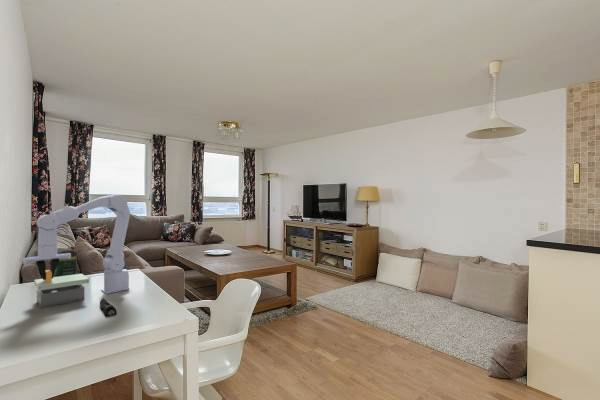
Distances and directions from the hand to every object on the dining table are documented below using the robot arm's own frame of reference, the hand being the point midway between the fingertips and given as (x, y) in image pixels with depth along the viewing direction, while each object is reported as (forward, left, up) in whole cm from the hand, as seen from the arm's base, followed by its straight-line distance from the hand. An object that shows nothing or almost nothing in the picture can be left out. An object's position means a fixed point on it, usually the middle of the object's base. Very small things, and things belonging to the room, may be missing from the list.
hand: (47, 278), depth 119 cm
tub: (-5, -3, -10) cm, 12 cm away
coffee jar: (-10, -22, -11) cm, 26 cm away
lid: (-4, 0, -3) cm, 5 cm away
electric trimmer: (-14, +23, -11) cm, 29 cm away
